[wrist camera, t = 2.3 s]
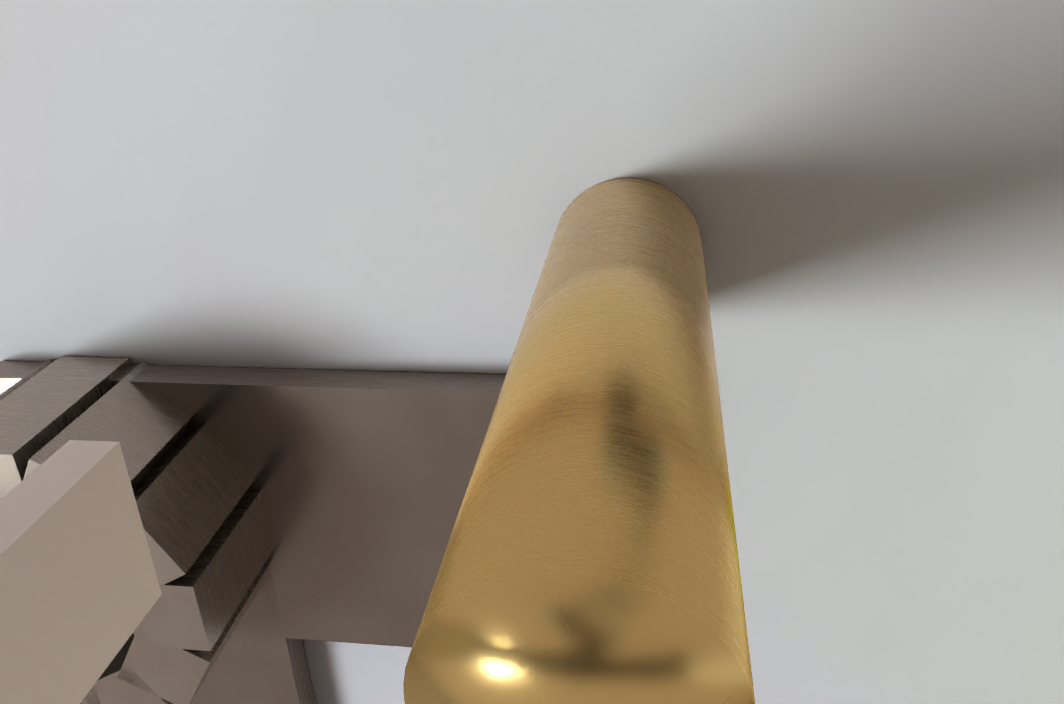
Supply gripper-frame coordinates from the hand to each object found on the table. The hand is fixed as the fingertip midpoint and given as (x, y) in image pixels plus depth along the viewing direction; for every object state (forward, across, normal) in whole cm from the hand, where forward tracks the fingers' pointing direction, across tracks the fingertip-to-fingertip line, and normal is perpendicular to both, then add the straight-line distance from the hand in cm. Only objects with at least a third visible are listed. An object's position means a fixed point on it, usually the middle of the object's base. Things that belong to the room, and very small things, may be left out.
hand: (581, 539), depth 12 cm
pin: (+11, 0, 0) cm, 11 cm away
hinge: (+11, -9, -12) cm, 18 cm away
